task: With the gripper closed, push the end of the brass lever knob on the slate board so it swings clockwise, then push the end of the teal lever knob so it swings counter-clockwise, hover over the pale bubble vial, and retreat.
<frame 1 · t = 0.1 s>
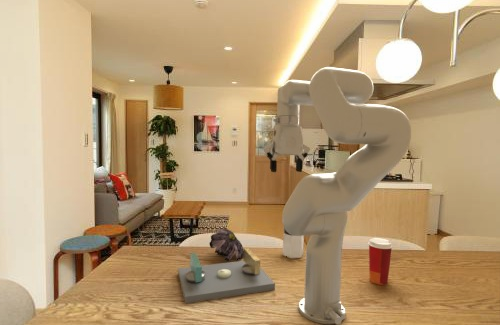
hand: (286, 171, 102), 37 cm above the table, tool pointing down, fingers open, 9 cm apart
jar: (292, 255, 123), on the table
knob b: (195, 269, 94), point 5 cm above the table, hinge at 0.0°
paper cup: (378, 281, 100), on the table
decorative flower: (227, 256, 120), on the table
knob a: (251, 262, 100), point 5 cm above the table, hinge at 0.0°
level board: (224, 281, 98), on the table
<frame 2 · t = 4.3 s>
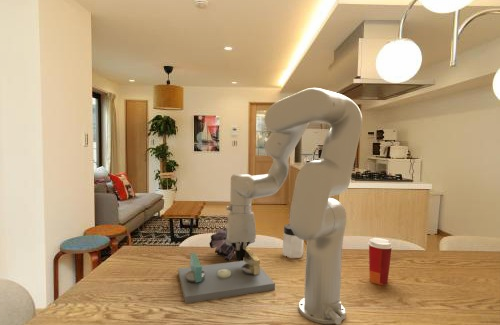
hand: (239, 259, 104), 5 cm above the table, tool pointing down, fingers closed
knob a: (251, 262, 100), point 5 cm above the table, hinge at -2.2°, touching gripper
everything else where it was.
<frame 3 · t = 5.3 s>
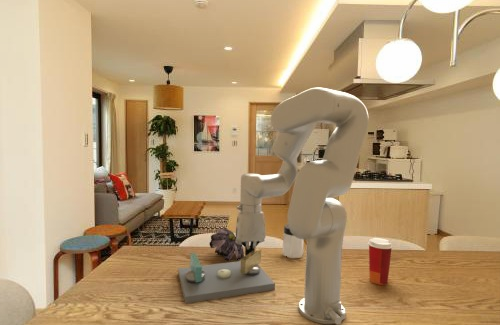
hand: (249, 258, 105), 5 cm above the table, tool pointing down, fingers closed
knob a: (251, 262, 100), point 5 cm above the table, hinge at -46.4°, touching gripper
everything else where it was.
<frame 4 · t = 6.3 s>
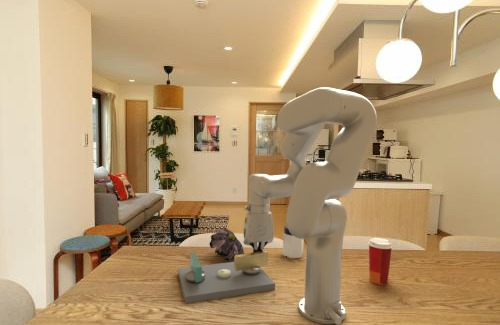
hand: (257, 259, 104), 5 cm above the table, tool pointing down, fingers closed
knob a: (251, 262, 100), point 5 cm above the table, hinge at -82.0°, touching gripper
everything else where it was.
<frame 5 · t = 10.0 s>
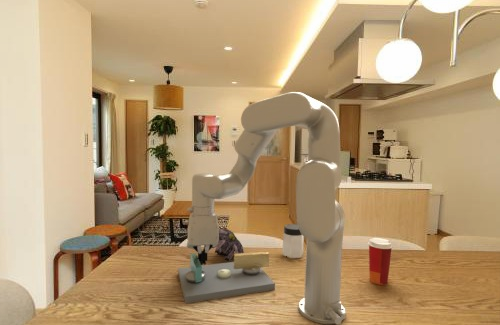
hand: (202, 263, 100), 5 cm above the table, tool pointing down, fingers closed
knob b: (195, 269, 94), point 5 cm above the table, hinge at 0.0°, touching gripper
knob a: (251, 262, 100), point 5 cm above the table, hinge at -97.1°
everything else where it was.
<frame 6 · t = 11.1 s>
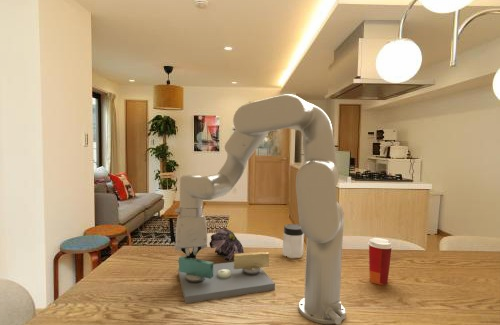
hand: (190, 265, 98), 5 cm above the table, tool pointing down, fingers closed
knob b: (195, 269, 94), point 5 cm above the table, hinge at 47.1°, touching gripper
everything else where it was.
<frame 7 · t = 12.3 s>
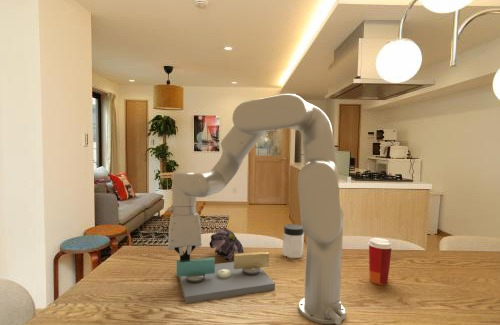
hand: (185, 265, 96), 6 cm above the table, tool pointing down, fingers closed
knob b: (195, 269, 94), point 5 cm above the table, hinge at 85.8°, touching gripper
everything else where it was.
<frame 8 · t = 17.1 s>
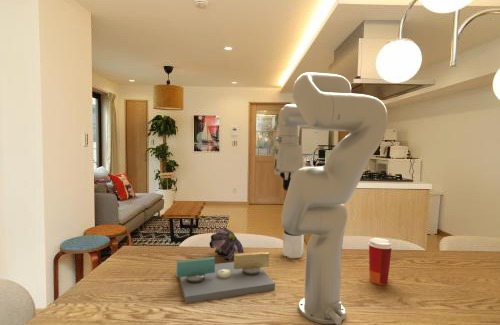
hand: (287, 189, 110), 29 cm above the table, tool pointing down, fingers closed
knob b: (195, 269, 94), point 5 cm above the table, hinge at 90.6°
everything else where it was.
at the end: knob a at -97° (first picture: +0°); knob b at +91° (first picture: +0°); the gripper is holding nothing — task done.
